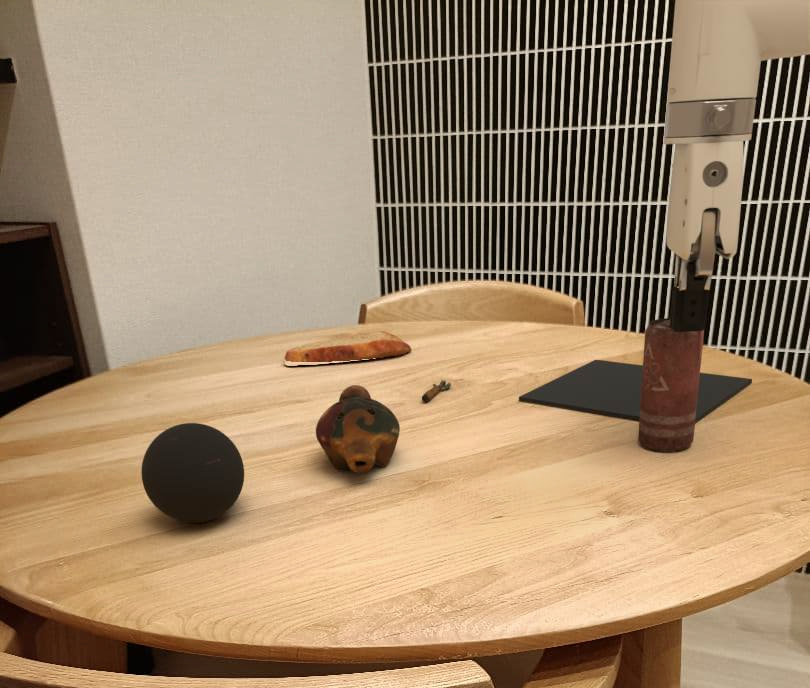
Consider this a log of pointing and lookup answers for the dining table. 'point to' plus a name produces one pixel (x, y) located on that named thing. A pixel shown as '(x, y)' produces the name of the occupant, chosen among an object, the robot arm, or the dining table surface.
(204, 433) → the speaker
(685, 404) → the can
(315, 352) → the bread slice
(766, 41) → the robot arm
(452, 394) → the dining table surface
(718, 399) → the mat
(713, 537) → the dining table surface
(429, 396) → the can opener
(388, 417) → the decorative turtle
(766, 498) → the dining table surface
